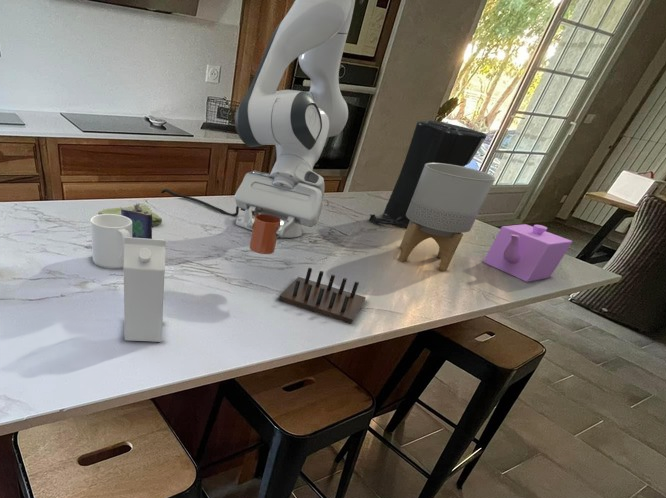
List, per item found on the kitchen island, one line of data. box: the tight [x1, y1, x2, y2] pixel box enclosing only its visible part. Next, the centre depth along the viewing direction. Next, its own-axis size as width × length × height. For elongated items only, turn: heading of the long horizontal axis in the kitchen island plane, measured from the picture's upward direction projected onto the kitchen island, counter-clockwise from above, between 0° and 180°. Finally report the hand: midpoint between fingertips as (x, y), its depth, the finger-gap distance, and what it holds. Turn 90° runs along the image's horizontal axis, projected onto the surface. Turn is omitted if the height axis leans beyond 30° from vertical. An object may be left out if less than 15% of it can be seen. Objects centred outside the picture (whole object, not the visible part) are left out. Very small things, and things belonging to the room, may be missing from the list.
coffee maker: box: [368, 119, 487, 229], centre depth 158 cm, size 23×32×34 cm
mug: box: [89, 214, 132, 270], centre depth 108 cm, size 13×10×10 cm
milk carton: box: [122, 237, 167, 343], centre depth 81 cm, size 7×7×19 cm
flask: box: [121, 203, 153, 239], centre depth 120 cm, size 9×3×11 cm, turn 71°
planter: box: [397, 163, 496, 272], centre depth 130 cm, size 19×19×26 cm
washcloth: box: [97, 204, 163, 227], centre depth 135 cm, size 13×18×3 cm
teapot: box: [483, 223, 573, 283], centre depth 135 cm, size 15×25×14 cm, turn 117°
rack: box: [278, 267, 366, 325], centre depth 105 cm, size 18×14×5 cm
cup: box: [249, 214, 281, 255], centre depth 100 cm, size 6×6×7 cm
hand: (264, 231), depth 99 cm, fingers closed on cup, 6 cm apart
